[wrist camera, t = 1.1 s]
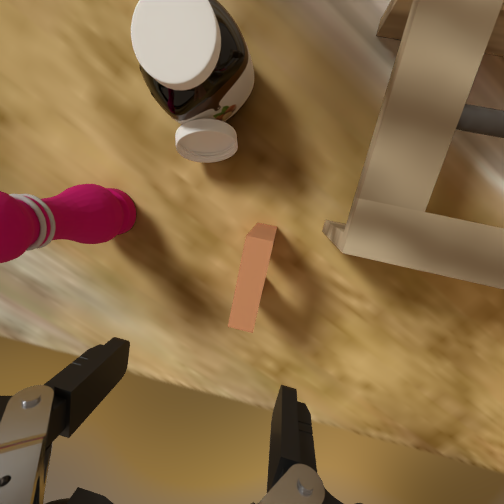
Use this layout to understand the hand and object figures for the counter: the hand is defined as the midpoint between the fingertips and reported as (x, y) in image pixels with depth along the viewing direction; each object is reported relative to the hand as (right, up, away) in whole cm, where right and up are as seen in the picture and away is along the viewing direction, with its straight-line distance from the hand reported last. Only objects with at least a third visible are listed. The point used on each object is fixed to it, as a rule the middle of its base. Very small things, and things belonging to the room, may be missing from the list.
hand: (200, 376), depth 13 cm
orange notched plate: (+4, +5, +22) cm, 23 cm away
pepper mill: (-16, +12, +23) cm, 31 cm away
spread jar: (-2, +23, +18) cm, 30 cm away
